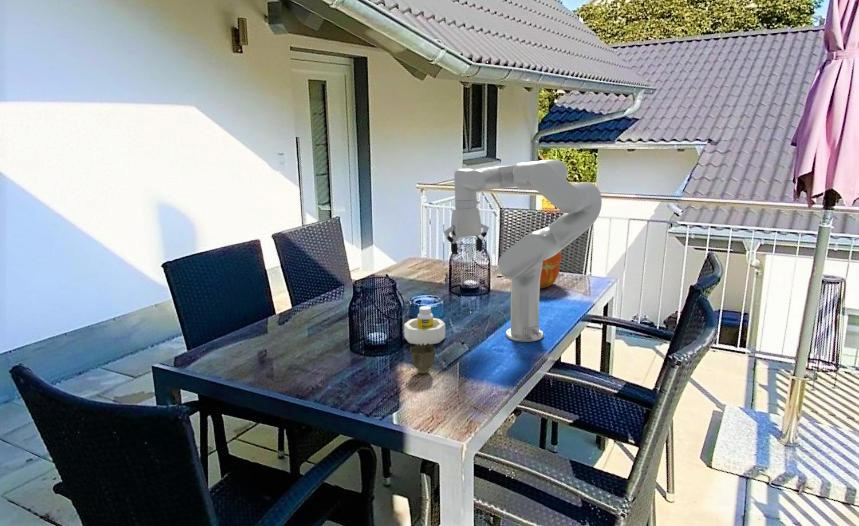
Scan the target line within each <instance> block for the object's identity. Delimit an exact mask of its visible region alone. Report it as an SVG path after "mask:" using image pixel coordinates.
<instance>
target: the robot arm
mask: <svg viewBox="0 0 859 526" xmlns="http://www.w3.org/2000/svg"><path fill="white" fill-rule="evenodd" d="M568 172H569V171H568V167H567V165H566V163H564V162H563V161H561V160H559V159H545V160H543V159H542V160H538V161H537V160H536V161H528V162H527V161H526V162H518V163H516V164H512V165H511V164H510V165H501V166H492V167H483V168H479V169H473V168H459V169H456V170H455V171H454V174H453V175H454V176H453V177H454V179H453V182H454V208H453V209H452V212H451V220H450V221H451V222H450V226H449V227H448V228H447V229H445V230H444V231H443V235H444V237H445V239H446V240H447V241H448V242H449V243H450V252H451V253H452V254H453V255H455V256H456V255H458V253H459V252H458V243H457V241H458V240H459V239H460V238H469V237H475V238H476V240H475V244H476V245H475V250H476V251H478V252H482V251H483V241H484V239H485V237H486V236H487V234H488V232H489V229H490V228H489V226H487V225H485V224H482V223H481V214H480V210H479V207H477V206H478V205H479V204H480V203H481V202H480V201H481V200H479V199H477V193H478V192H479V193H481V192H486V191H491V190H495V189H496V190H498V189H505V188H506V189H507V188H517V189H518V190H530V189H535V190H536V191H537V192H538V193H539V194H540V195H541V196H542V197H543V198H544V199H546V200H547V201H548V202H549V203H551V204H552V205H553V206H554V207H555V208H556V209H558V210H559V211H560V212H562V213H563V214H562V215H560V216H559V217H558V218H557V219H555V220H554V221H553V222H552V223H550V224H549V225H547V226H546V227H544V228H540V229H538V230H535V231H532V232H530V233H528V234H526V235H525V236H523V237H522V238H520V239H519V240H517V242H516V243H514V244H513V245H512V246H510V247H509V248H508V249H507V250H506V251H504V252H503V253H502V254H501V255H500V257H499V259H498V265H497V266H498V271H499V273H500V274H501V276H503V277H504V278H505V279H508V280H511V284H510V328H508V329H507V330H506V331H505V335H506V338H507V339H510V340H512V341H514V342H515V341H516V342H522V343H531V342H536V341H537V342H538V341H539V340H541V339H543V337H544V332H543V331H542V330H541V329H540V323H539V322H540V294H541V293H540V289H541V288H540V276H541V271H542V264H543V261H544V260H546V259H548V258H551V257H553V256H554V255H556V254H557V253H558V252H559V251H560V252H562V250H563V249H565V248H566V247H567V246H569V245H570V244H571V243H572V242H574V241H575V240H576V239H578V238H579V237H580V236H581V235H582V234H584V233H585V232H586V231H588V230H589V228H591V227H592V226H593V225H594V224H595V222H596V220H597V219H598V218H599V215H600V212H601V210H602V199H603V198H602V194H601V191H600V190H599V189H600V188H599V187H598V186H596V184H594V183H592V182H588V181H581V182H577V183H570V182H569V180H567V178H568V175H569V173H568ZM482 229H483V230H482ZM450 234H451V235H450Z"/></svg>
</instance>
